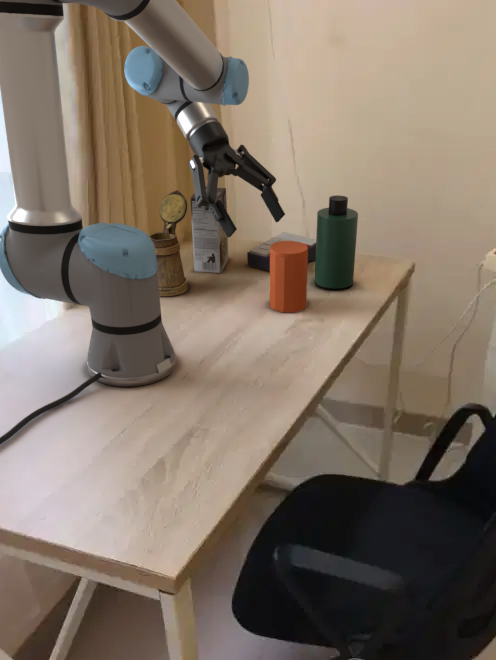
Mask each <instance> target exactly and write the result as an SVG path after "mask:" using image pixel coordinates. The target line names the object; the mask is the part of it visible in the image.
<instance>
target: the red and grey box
mask: <svg viewBox="0 0 496 660" xmlns="http://www.w3.org/2000/svg"><path fill="white" fill-rule="evenodd" d="M280 241H296V242H301V243H304V244H305V245H307V247H308V263H309V262H315V260H316V238H311V237H308V236H304V235H298V234H294V233H290V232H285V231H283V232H281V233H279V234H277V235H275V236H273V237H271V238H269V239H266V240H265V241H263V242H262V243H260V244H258V245H256V246H255V247H253V248H251V249H249V251H248V252H247V253H246V258H247V266H248V267H252V268H256V269H259V270H260V269H261V270H264V271H268V272H270V246H271V245H272V244H273V243H276V242H280Z"/></svg>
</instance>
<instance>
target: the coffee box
mask: <svg viewBox="0 0 496 660" xmlns="http://www.w3.org/2000/svg"><path fill="white" fill-rule="evenodd" d="M205 186H206V191H207V185H205ZM189 200H190V215H191V216H190V217H191V233H192V250H193V252H192V253H193V265H194V267H193V268H194V272H200V273H211V274H212V273H213V274H222V272H223V270H224V268H225V266H226V265H227V263H228V261H229V259H230V258H229V257H230V256H229V237H227V235H226V234H225V232H224V230H223V228H222V227H221V225H220V223H219V222H217V221H216V220H215V219H214V217H213V215H212V214H211V212H210V210H207V211H206V210H204V208H203V206H202V207H198V206H197V205H196V199H195V191H194V192H193V193H192V195H191V196H190V198H189ZM217 200H221V202H222V204H223V206H224V207H225V209H226V211H227V212H228V206H227V202H228V201H227V188H226V187H217V193H216V200H215V202H216V201H217Z"/></svg>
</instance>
